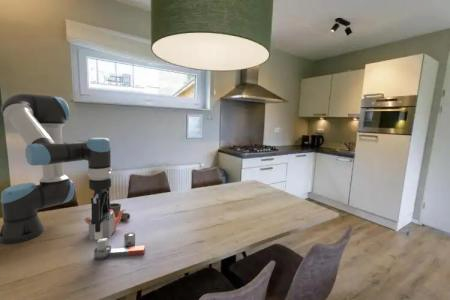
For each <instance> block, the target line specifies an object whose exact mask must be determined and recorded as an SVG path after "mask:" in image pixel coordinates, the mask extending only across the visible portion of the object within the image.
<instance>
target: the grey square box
mask: <svg viewBox="0 0 450 300" xmlns="http://www.w3.org/2000/svg"><path fill="white" fill-rule="evenodd" d="M90 216H91V217H90ZM90 216H89V217H90V218H89V220H88V222H89V224H88V237H89V240H95V231H94V224H93V225H92V224H91V223H92V215H90ZM102 222H103V239H106V238H108V239H110V237H111V236H112V234H114V233H113V231H114V211H111V212H102Z"/></svg>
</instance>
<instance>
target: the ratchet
mask: <svg viewBox="0 0 450 300" xmlns="http://www.w3.org/2000/svg"><path fill="white" fill-rule="evenodd" d="M108 241H109V238H106V239H97V241H96V248H95V249H94V250H93V256H94V257H93V258H94V260H95V261H104V260H107V259H109V258H117V257H118V258H119V257H133V256H144V255H145V252H146V245H135V246H130V247H129V248H125V247H119V248H118V247H117V248H112V246H111V245H109V243H108Z"/></svg>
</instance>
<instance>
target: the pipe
mask: <svg viewBox="0 0 450 300" xmlns="http://www.w3.org/2000/svg"><path fill="white" fill-rule="evenodd" d="M121 206H122V204H121V203H118V202H113V203H110V208H111V209H110V210H113V211H114V214H115V217H116V218H117V217H118V216H119V213H120V211H121V209H122V208H121ZM130 219H131V214H130V213H129V212H123V213H122V216H121V220H120V221H128V220H130Z"/></svg>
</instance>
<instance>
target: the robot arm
mask: <svg viewBox="0 0 450 300" xmlns="http://www.w3.org/2000/svg"><path fill="white" fill-rule="evenodd" d="M0 112H1V115H2V116H3V118H4V119H5V121H7V122H8V123H9V124H12V126H13V127H14V129H15V130H16V131H17V133H18V135H19V136H20V137H21V138H22V140H23V141H24V143H25V144H26V147H25V152H24V153H25V158H26V162H27V163H28V165H30V166H33V167H34V166H42V177H41V178H39V184H36V183H34V182H26V183H25V182H24V183H23V182H22V183H19V184H15V185H10V186H9V187H6V188H5V189H4V190H2V192H1V193H0V203H1V211H2V221H3V222H2V226H1V228H0V243H2V244H16V243H21V242H25V241H28V240H31V239H33V238H36V237H38V236H39V235H41V234H42V233H43V232H44V224H43V222H41V220H40V217H39V216H38V210H42V209H45V208H46V209H47V208H49V207H54V206H58V205H62V204H65V203H68V202H70V201H71V200H72V199H73V197H74V194H75V186H74V182H73V181H72V180H71V179H70V178H69V176H67V175H66V174H65V163H70V162H72V163H73V162H81V161H87V165H88V167H87V169H88V178H89V180H88V187H89V189H90V190H92V191H94V193H93V197H91V198H90V203H91V216H92V223H91V224H92V225H93V224H94V231H95V239H94V240H97V241H98V240H99V239H103V222H102V212H111V211H109V210H110V209H111V208H110V204H111V197H110V196H111V195H110V188H112V177H111V176H112V172H113V169H112V168H111V163H112V161H111V157H112V155H111V149H112V148H111V144H110V143H111V142H110V141H111V140H110V139H109V138H108V137H89V138H88V139H87V140H77V141H69V142H66V141H65V142H64V141H63V131H62V129H63V127H64V126H65V125H66V122H67V121H69V119H70V116H71V112H70V108H69V104H68V103H67V101H66V100H65V99H64V98H63V97H59V96H53V95H42V94H32V93H30V94H29V93H18V94H17V93H16V94H14V95H10V96H9V97H7V98H6V99H5V100H4V101H3V102H2V105H1V108H0Z"/></svg>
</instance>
